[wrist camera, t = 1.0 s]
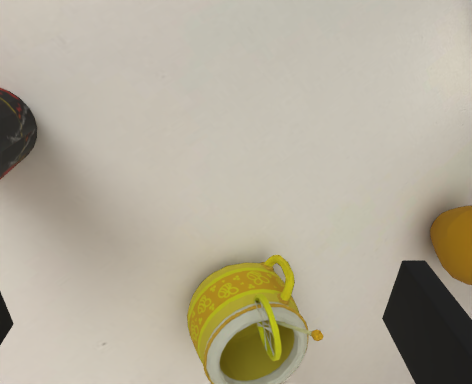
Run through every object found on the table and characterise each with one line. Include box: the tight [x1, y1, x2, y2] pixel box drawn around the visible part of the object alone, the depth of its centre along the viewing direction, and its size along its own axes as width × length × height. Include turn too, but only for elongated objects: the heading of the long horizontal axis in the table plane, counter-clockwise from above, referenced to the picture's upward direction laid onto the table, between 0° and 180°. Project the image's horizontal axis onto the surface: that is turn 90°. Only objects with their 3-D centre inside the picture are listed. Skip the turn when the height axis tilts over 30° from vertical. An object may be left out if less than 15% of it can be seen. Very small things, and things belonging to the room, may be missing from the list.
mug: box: [187, 255, 323, 384], centre depth 31 cm, size 13×11×12 cm
